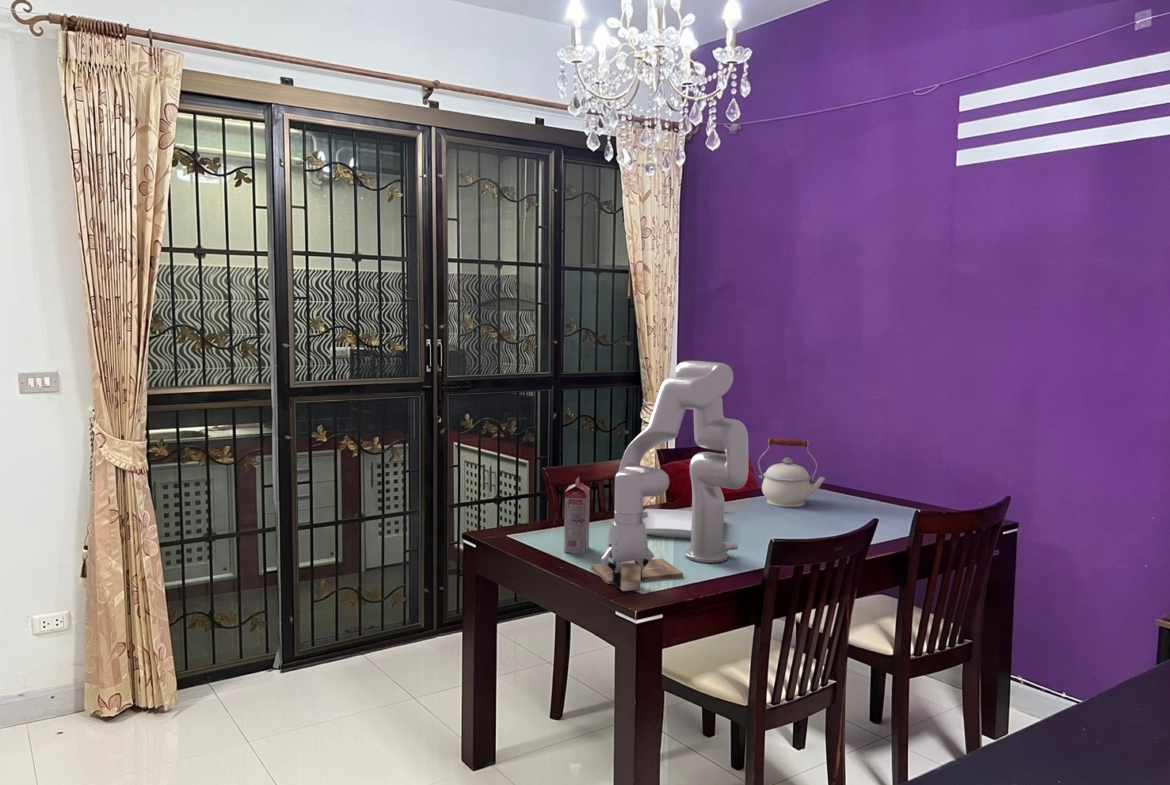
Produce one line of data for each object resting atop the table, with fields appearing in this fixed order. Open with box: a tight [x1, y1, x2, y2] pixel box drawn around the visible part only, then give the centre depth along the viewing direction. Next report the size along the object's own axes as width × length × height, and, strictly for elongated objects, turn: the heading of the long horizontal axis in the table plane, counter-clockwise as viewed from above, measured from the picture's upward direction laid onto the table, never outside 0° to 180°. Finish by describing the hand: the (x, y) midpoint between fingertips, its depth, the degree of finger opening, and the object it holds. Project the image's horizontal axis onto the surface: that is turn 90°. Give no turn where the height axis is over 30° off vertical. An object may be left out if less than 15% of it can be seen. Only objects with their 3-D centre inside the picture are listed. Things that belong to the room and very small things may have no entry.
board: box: [590, 558, 684, 585], centre depth 233 cm, size 22×14×1 cm, turn 109°
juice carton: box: [563, 476, 591, 554], centre depth 254 cm, size 7×7×22 cm
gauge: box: [618, 561, 641, 592], centre depth 224 cm, size 5×12×6 cm, turn 19°
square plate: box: [643, 508, 692, 539], centre depth 280 cm, size 27×27×4 cm
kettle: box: [757, 437, 826, 508], centre depth 319 cm, size 25×18×25 cm
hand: (627, 584), depth 221 cm, fingers closed on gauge, 5 cm apart
